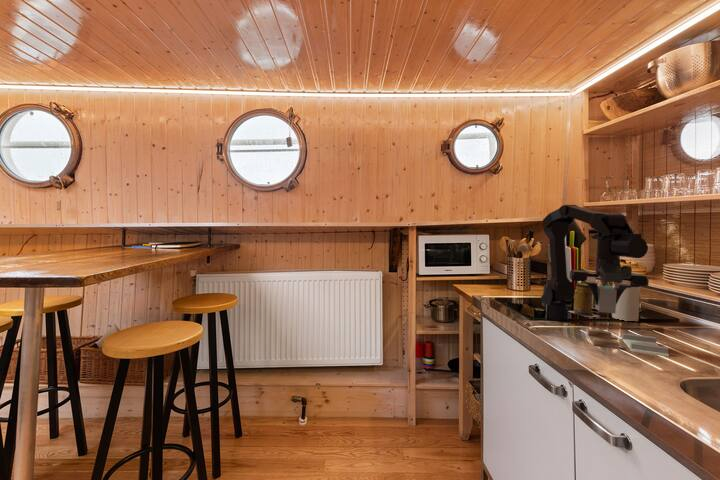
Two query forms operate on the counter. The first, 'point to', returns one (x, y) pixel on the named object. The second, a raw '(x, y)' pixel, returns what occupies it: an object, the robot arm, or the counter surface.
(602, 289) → the plug
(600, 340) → the walnut dock
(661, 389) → the counter surface
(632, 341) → the cradle
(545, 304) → the supplement bottle
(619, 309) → the travel mug
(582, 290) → the condiment
